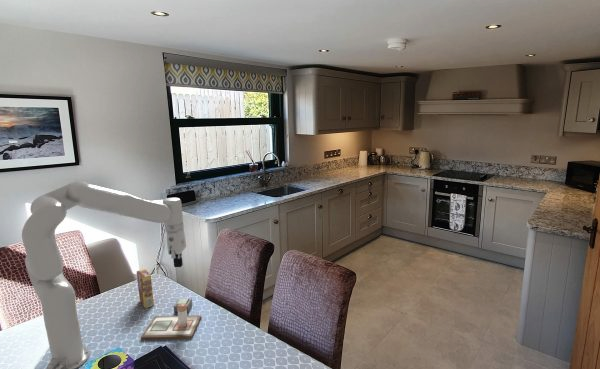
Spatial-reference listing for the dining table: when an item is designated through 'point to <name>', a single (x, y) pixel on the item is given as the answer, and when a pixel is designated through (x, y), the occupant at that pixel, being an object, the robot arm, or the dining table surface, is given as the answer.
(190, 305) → the button housing
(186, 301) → the button
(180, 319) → the cylinder
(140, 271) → the candy box
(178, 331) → the picture board
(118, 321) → the dining table surface
